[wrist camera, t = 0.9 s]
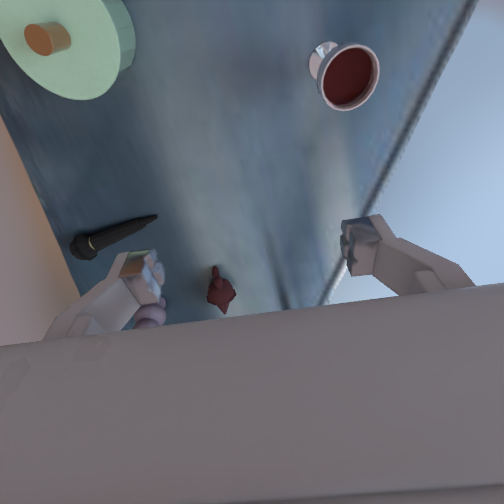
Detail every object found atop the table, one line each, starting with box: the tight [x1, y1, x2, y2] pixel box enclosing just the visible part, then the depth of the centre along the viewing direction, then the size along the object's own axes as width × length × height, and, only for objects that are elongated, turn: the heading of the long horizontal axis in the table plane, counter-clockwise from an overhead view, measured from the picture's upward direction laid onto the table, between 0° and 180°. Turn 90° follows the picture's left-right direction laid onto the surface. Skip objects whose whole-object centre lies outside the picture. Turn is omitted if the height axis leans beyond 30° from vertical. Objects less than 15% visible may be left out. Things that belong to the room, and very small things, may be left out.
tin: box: [102, 0, 136, 80], centre depth 35 cm, size 12×12×8 cm
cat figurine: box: [133, 297, 166, 329], centre depth 73 cm, size 8×8×12 cm
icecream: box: [207, 266, 236, 314], centre depth 71 cm, size 7×7×15 cm
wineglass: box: [309, 42, 380, 111], centre depth 37 cm, size 7×7×12 cm
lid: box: [0, 0, 121, 100], centre depth 30 cm, size 13×13×5 cm
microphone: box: [70, 215, 158, 260], centre depth 59 cm, size 6×6×20 cm
